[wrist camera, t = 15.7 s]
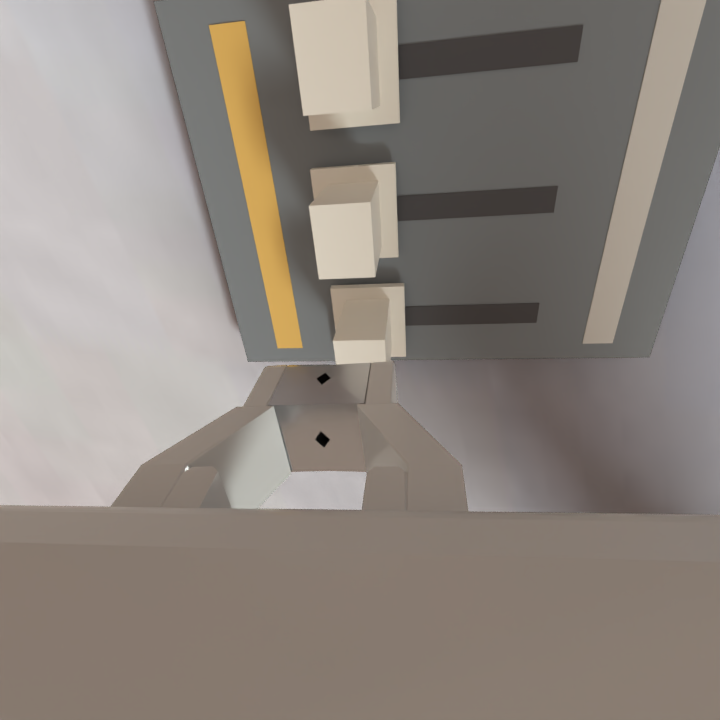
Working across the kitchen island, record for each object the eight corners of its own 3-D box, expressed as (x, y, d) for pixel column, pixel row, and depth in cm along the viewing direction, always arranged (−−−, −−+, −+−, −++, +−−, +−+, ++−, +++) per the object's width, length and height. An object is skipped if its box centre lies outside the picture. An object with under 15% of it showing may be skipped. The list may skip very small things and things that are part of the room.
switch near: (396, -7, 16) (390, -40, 12) (399, 122, 19) (396, 130, 15) (297, 6, 17) (259, -22, 13) (312, 129, 19) (284, 140, 15)
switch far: (404, 282, 23) (402, 325, 19) (406, 352, 25) (404, 404, 21) (331, 285, 23) (313, 327, 19) (340, 353, 26) (325, 404, 21)
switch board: (757, -67, 16) (798, -86, 14) (633, 340, 26) (649, 357, 24) (176, 9, 19) (153, 1, 18) (257, 346, 29) (247, 362, 27)
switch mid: (395, 162, 20) (390, 180, 15) (398, 254, 22) (395, 292, 18) (312, 168, 20) (285, 187, 16) (323, 257, 22) (303, 295, 18)
